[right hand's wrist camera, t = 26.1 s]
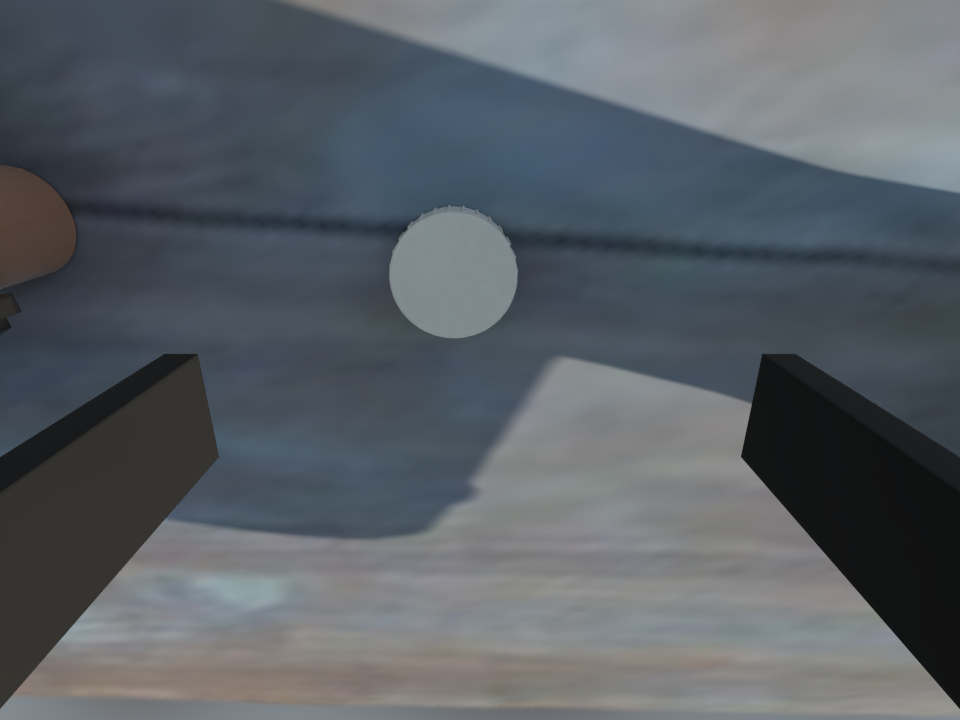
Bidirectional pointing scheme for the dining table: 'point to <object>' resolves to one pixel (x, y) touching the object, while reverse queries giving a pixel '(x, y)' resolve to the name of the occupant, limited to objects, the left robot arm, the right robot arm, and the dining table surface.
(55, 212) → the brown tube
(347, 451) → the dining table surface
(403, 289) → the lid
